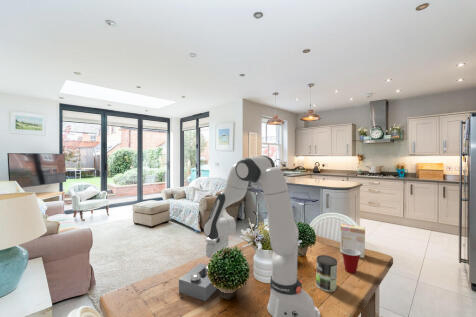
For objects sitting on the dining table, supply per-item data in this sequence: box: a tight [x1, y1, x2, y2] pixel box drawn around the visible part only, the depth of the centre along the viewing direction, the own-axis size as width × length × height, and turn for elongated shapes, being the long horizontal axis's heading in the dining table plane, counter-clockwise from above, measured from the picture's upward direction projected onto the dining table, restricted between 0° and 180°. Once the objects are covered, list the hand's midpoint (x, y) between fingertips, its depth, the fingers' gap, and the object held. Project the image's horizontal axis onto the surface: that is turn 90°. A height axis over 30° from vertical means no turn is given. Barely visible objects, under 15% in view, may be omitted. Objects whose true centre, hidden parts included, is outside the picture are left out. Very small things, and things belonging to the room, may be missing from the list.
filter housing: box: [178, 262, 217, 302], centre depth 115 cm, size 18×16×6 cm
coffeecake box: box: [339, 223, 366, 259], centre depth 155 cm, size 15×7×20 cm, turn 58°
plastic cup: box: [341, 248, 361, 274], centre depth 132 cm, size 11×11×12 cm
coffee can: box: [315, 254, 338, 293], centre depth 117 cm, size 10×10×14 cm
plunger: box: [191, 273, 200, 283], centre depth 109 cm, size 5×5×6 cm
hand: (218, 259), depth 129 cm, fingers closed on cartridge, 3 cm apart
